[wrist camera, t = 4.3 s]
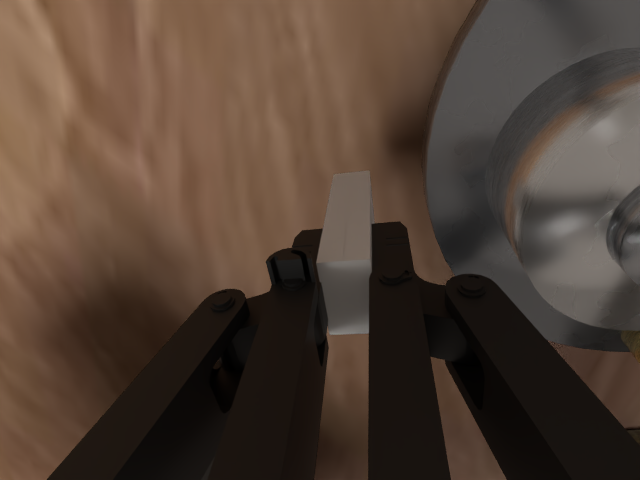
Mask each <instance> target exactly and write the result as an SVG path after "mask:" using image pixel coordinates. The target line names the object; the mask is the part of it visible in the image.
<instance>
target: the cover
mask: <svg viewBox="0 0 640 480" xmlns="http://www.w3.org/2000/svg"><path fill="white" fill-rule="evenodd" d="M486 194H487V200H488V203H489V206H490V209H491V212H492V214H493V216H494V217H495V219H496V221H497V223H498V225H499V226H500V228H501V230H502V232H503V233H504V235H505V237H506V239H507V240H508V242H509V244H510V246H511V247H512V249H513V251H514V252H515V254H516V256H517V258H518V259H519V261H520V263H521V265H522V266H523V268H524V270H525V272H526V273H527V275H528V277H529V279H530V280H531V282H532V284H533V286H534V287H535V289H536V290H537V291H538V292H539V294H540V295H541V296H542V298H543V299H544V300H546V301H547V302H548V303H549V304H550V305H551V306H552V307H553V308H555V309H556V310H558V311H559V312H561V313H562V314H564V315H566V316H568V317H570V318H572V319H574V320H577V321H579V322H582V323H585V324H588V325H591V326H596V327H601V328H606V329H614V330H623V331H640V47H634V48H622V49H617V50H612V51H607V52H604V53H601V54H598V55H594V56H591V57H588V58H586V59H584V60H581V61H579V62H577V63H575V64H572V65H570V66H569V67H567V68H565V69H563V70H562V71H560V72H558V73H556V74H555V75H553V76H552V77H550V78H549V79H548V80H546V81H545V82H544V83H542V84H541V85H539V86H538V87H537V88H536V89H535V90H534V91H533V92H532V93H530V94H529V95H528V96H527V97H526V98H525V99H524V100H523V101H522V102H521V103H520V105H519V106H518V107H517V108H516V109H515V110H514V111H513V113H512V114H511V115H510V117H509V118H508V120H507V121H506V122H505V124H504V125H503V127H502V129H501V131H500V132H499V134H498V136H497V138H496V140H495V143H494V145H493V147H492V150H491V153H490V156H489V160H488V164H487V170H486Z"/></svg>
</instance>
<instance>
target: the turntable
mask: <svg viewBox="0 0 640 480" xmlns="http://www.w3.org/2000/svg"><path fill="white" fill-rule="evenodd" d="M634 47H640V0H477V1H476V3H475V4H474V6H473V8H472V9H471V11H470V13H469V15H468V16H467V18H466V20H465V21H464V23H463V25H462V26H461V28H460V30H459V31H458V33H457V35H456V37H455V39H454V41H453V43H452V45H451V48H450V50H449V52H448V54H447V56H446V59H445V61H444V63H443V65H442V68H441V70H440V72H439V75H438V78H437V81H436V84H435V88H434V91H433V94H432V97H431V100H430V103H429V107H428V113H427V118H426V123H425V129H424V134H423V146H422V177H423V188H424V195H425V199H426V203H427V207H428V211H429V215H430V219H431V223H432V226H433V230H434V233H435V237H436V239H437V241H438V244H439V246H440V248H441V251H442V253H443V256H444V258H445V260H446V262H447V263H448V265H449V266H450V268H451V270H452V271H453V273H454V274H455V276H457V275H460V274H470V273H471V274H478V275H482V276H485V277H488V278H490V279H491V280H493V281H494V282H495V283H496V284H497V285H498V286H499V287H500V288H501V289H502V290H503V291H504V293H505V294H506V295H507V296H508V297H509V298H510V299H511V301H512V302H513V303H514V304H515V305H516V306H517V307H518V308H519V310H520V311H521V312H522V313H523V314H524V315H525V316H526V317H527V319H528V320H529V321H530V322H531V323H532V324H533V325H534V326H535V328H536V329H537V330H538V331H539V332H540V333H541V334H542V336H543V337H544V338H545V339H546V340H549V341H552V342H555V343H559V344H564V345H569V346H573V347H578V348H583V349H592V350H602V351H613V352H631V353H632V354H633V356H634V357H635V358H636V360H637V361H638V362H639V364H640V331H623V330H614V329H606V328H601V327H596V326H591V325H588V324H585V323H582V322H579V321H577V320H574V319H572V318H570V317H568V316H566V315H564V314H562V313H561V312H559V311H558V310H556V309H555V308H553V307H552V306H551V305H550V304H549V303H548V302H547V301H546V300H544V299H543V298H542V296H541V295H540V294H539V292H538V291H537V290H536V289H535V287H534V286H533V284H532V282H531V280H530V279H529V277H528V275H527V273H526V272H525V270H524V268H523V266H522V265H521V263H520V261H519V259H518V258H517V256H516V254H515V252H514V251H513V249H512V247H511V246H510V244H509V242H508V240H507V239H506V237H505V235H504V233H503V232H502V230H501V228H500V226H499V225H498V223H497V221H496V219H495V217H494V216H493V214H492V212H491V209H490V206H489V203H488V200H487V194H486V170H487V164H488V160H489V156H490V153H491V150H492V147H493V145H494V143H495V140H496V138H497V136H498V134H499V132H500V131H501V129H502V127H503V125H504V124H505V122H506V121H507V120H508V118H509V117H510V115H511V114H512V113H513V111H514V110H515V109H516V108H517V107H518V106H519V105H520V103H521V102H522V101H523V100H524V99H525V98H526V97H527V96H528V95H529V94H530V93H532V92H533V91H534V90H535V89H536V88H537V87H538V86H539V85H541V84H542V83H544V82H545V81H546V80H548V79H549V78H550V77H552V76H553V75H555V74H556V73H558V72H560V71H562V70H563V69H565V68H567V67H569V66H570V65H572V64H575V63H577V62H579V61H581V60H584V59H586V58H588V57H591V56H594V55H598V54H601V53H604V52H607V51H612V50H617V49H622V48H634Z"/></svg>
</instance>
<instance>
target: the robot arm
mask: <svg viewBox="0 0 640 480" xmlns="http://www.w3.org/2000/svg"><path fill="white" fill-rule="evenodd" d="M266 264H267V268H268V272H269V275H270V279H271V283H272V286H271V289H270V291H269V292H267V293H265V294H262V295H259V296H255V297H252V298H248V299H246V297H245V294H244V293H243V292H242V291H240V290H237V289H225V290H221V291H218V292H216V293H214V294H212V295H210V296H209V297H207V298H206V299H205V300H204V301H203V302H202V303H201V304H200V305H199V307H198V308H197V309H196V310H195V311H194V312H193V313H192V315H191V316H190V317H189V318H188V319H187V320H186V321H185V323H184V324H183V325H182V326H181V327H180V328H179V329H178V330H177V332H176V333H175V334H174V335H173V336H172V337H171V338H170V340H169V341H168V342H167V343H166V344H165V345H164V346H163V348H162V349H161V350H160V351H159V352H158V353H157V354H156V356H155V357H154V358H153V359H152V360H151V361H150V362H149V364H148V365H147V366H146V367H145V368H144V369H143V370H142V372H141V373H140V374H139V375H138V376H137V377H136V378H135V380H134V381H133V382H132V383H131V384H130V385H129V386H128V387H127V389H126V390H125V391H124V392H123V393H122V394H121V395H120V397H119V398H118V399H117V400H116V401H115V402H114V403H113V405H112V406H111V407H110V408H109V409H108V410H107V411H106V413H105V414H104V415H103V416H102V417H101V418H100V419H99V421H98V422H97V423H96V424H95V425H94V426H93V427H92V429H91V430H90V431H89V432H88V433H87V434H86V435H85V437H84V438H83V439H82V440H81V441H80V442H79V443H78V445H77V446H76V447H75V448H74V449H73V450H72V451H71V452H70V454H69V455H68V456H67V457H66V458H65V459H64V460H63V462H62V463H61V464H60V465H59V466H58V467H57V468H56V470H55V471H54V472H53V473H52V474H51V475H50V476H49V478H48V479H47V480H314V474H315V465H316V456H317V447H318V438H319V429H320V420H321V411H322V402H323V393H324V384H325V375H326V366H327V357H328V348H329V347H328V341H327V336H326V333H327V325H328V329H329V334H330V335H339V334H366V333H369V427H368V480H451V478H450V472H449V466H448V460H447V454H446V448H445V442H444V436H443V430H442V424H441V418H440V412H439V406H438V400H437V394H436V388H435V382H434V376H433V370H432V364H431V358H430V356H431V357H435V358H439V359H444V360H445V363H446V366H447V368H448V370H449V372H450V374H451V376H452V378H453V379H454V381H455V383H456V385H457V387H458V389H459V391H460V393H461V394H462V396H463V398H464V400H465V402H466V404H467V406H468V408H469V409H470V411H471V413H472V415H473V417H474V419H475V421H476V423H477V424H478V426H479V428H480V430H481V432H482V434H483V436H484V438H485V439H486V441H487V443H488V445H489V447H490V449H491V451H492V453H493V454H494V456H495V458H496V460H497V462H498V464H499V466H500V468H501V469H502V471H503V473H504V475H505V477H506V479H507V480H640V445H639V444H638V443H637V442H636V441H635V439H634V438H633V437H632V436H631V435H630V434H629V433H628V432H627V430H626V429H625V428H624V427H623V426H622V425H621V424H620V423H619V421H618V420H617V419H616V418H615V417H614V416H613V415H612V413H611V412H610V411H609V410H608V409H607V408H606V407H605V406H604V404H603V403H602V402H601V401H600V400H599V399H598V398H597V397H596V395H595V394H594V393H593V392H592V391H591V390H590V389H589V387H588V386H587V385H586V384H585V383H584V382H583V381H582V380H581V378H580V377H579V376H578V375H577V374H576V373H575V372H574V371H573V369H572V368H571V367H570V366H569V365H568V364H567V363H566V362H565V360H564V359H563V358H562V357H561V356H560V355H559V354H558V352H557V351H556V350H555V349H554V348H553V347H552V346H551V345H550V343H549V342H548V341H547V340H546V339H545V338H544V337H543V336H542V334H541V333H540V332H539V331H538V330H537V329H536V328H535V326H534V325H533V324H532V323H531V322H530V321H529V320H528V319H527V317H526V316H525V315H524V314H523V313H522V312H521V311H520V310H519V308H518V307H517V306H516V305H515V304H514V303H513V302H512V301H511V299H510V298H509V297H508V296H507V295H506V294H505V293H504V291H503V290H502V289H501V288H500V287H499V286H498V285H497V284H496V283H495V282H494V281H493V280H491V279H490V278H488V277H485V276H482V275H478V274H471V273H470V274H460V275H457V276H454V277H452V278H451V279H450V280H448V281H447V283H446V286H445V285H438V284H433V283H429V282H427V281H424V280H423V279H421V278H420V277H418V276H417V274H416V273H415V271H414V268H413V262H412V256H411V250H410V244H409V238H408V232H407V228H406V227H405V226H404V225H403V224H402V223H401V222H387V223H375V222H374V211H373V201H372V190H371V179H370V170H369V171H359V172H350V173H340V174H334V175H333V180H332V185H331V190H330V195H329V200H328V206H327V211H326V216H325V221H324V226H323V229H314V230H302V231H301V232H300V233H299V234H298V235H297V236H296V237H295V239H294V242H293V245H292V248H287V249H282V250H280V251H277V252H275V253H274V254H272V255H271V256H270V257H269V258H268V259H267V261H266ZM218 359H219V360H218ZM217 361H218V362H217ZM216 362H217V363H216ZM215 364H216V365H215Z"/></svg>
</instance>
